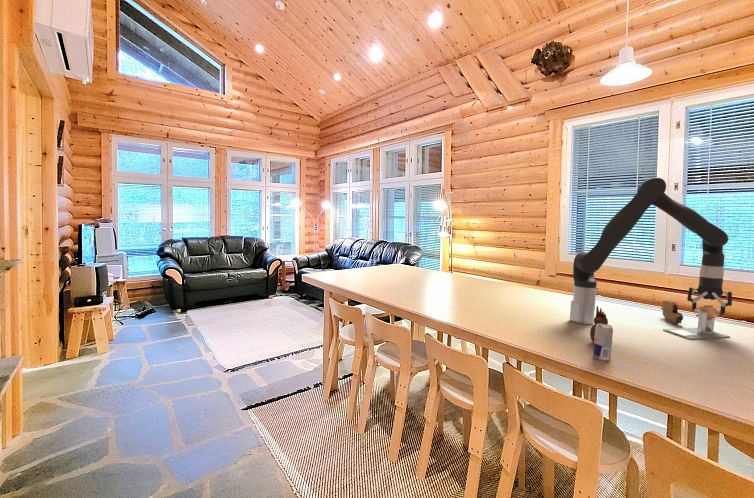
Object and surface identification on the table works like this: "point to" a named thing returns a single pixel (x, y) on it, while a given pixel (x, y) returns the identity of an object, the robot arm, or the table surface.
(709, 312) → the cap
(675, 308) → the wooden carving
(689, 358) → the table surface
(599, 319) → the wooden figurine
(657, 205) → the robot arm
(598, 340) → the energy drink
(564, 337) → the table surface
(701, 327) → the white irregular piece
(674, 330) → the board
